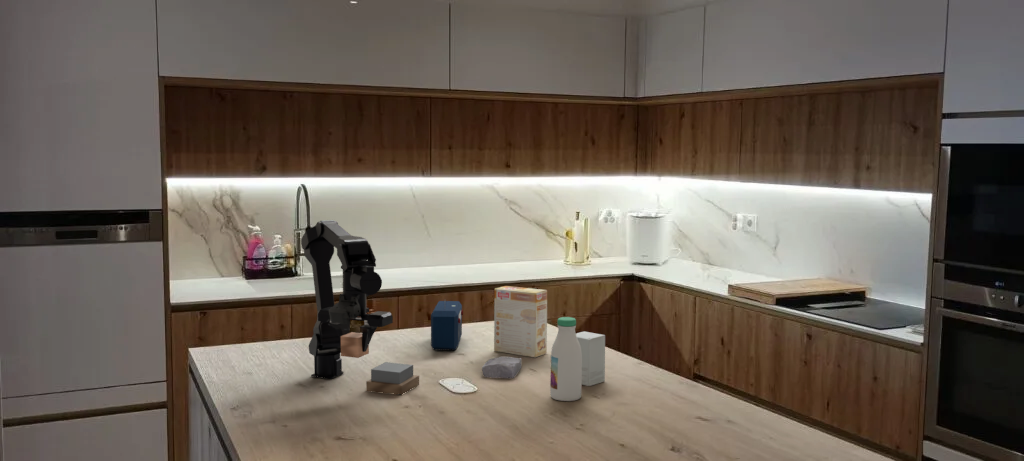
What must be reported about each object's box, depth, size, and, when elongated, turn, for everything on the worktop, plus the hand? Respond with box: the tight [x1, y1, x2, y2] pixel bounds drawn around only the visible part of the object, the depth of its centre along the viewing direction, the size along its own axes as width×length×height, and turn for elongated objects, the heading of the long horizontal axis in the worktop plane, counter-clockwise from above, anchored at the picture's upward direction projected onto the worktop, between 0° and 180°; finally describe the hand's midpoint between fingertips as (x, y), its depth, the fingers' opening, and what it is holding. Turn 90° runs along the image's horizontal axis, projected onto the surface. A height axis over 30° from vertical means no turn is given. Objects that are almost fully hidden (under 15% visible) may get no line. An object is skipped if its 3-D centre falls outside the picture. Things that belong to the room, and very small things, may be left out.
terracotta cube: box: [340, 331, 370, 359], centre depth 213 cm, size 5×5×5 cm
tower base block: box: [365, 374, 420, 396], centre depth 220 cm, size 10×10×3 cm
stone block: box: [481, 356, 522, 379], centre depth 235 cm, size 12×5×10 cm
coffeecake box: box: [493, 285, 548, 358], centre depth 258 cm, size 15×7×20 cm, turn 58°
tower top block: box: [370, 361, 414, 384], centre depth 219 cm, size 8×8×3 cm
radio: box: [430, 300, 464, 351], centre depth 268 cm, size 21×9×20 cm, turn 179°
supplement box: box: [575, 330, 606, 387], centre depth 226 cm, size 7×7×13 cm
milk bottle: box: [549, 316, 582, 402], centre depth 211 cm, size 8×8×20 cm
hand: (355, 350), depth 213 cm, fingers closed on terracotta cube, 5 cm apart
